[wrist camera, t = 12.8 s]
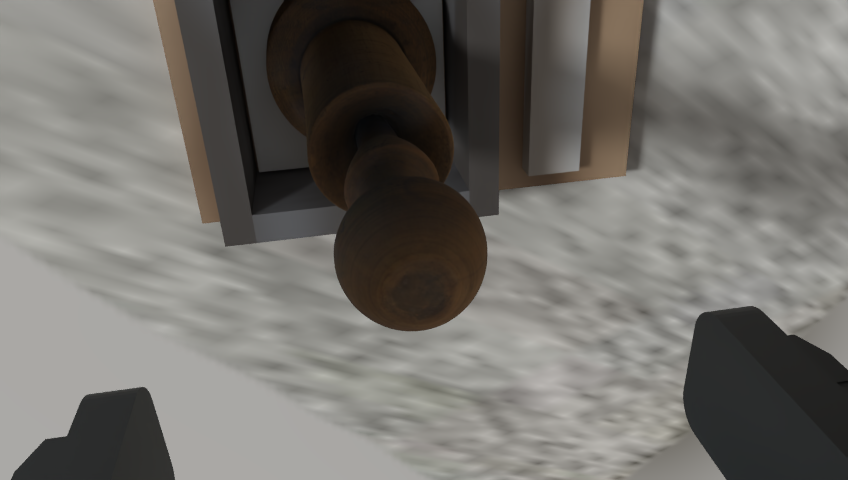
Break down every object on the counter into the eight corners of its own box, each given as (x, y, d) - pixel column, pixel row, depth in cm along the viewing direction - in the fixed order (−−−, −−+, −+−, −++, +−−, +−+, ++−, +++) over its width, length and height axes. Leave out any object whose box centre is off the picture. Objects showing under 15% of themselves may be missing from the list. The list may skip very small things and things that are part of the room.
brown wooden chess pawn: (443, 109, 30) (611, 375, 14) (298, 152, 30) (307, 469, 14) (405, -52, 27) (568, 64, 11) (242, -5, 26) (171, 181, 11)
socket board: (642, -156, 28) (722, -161, 23) (613, 164, 35) (669, 216, 30) (132, -131, 26) (92, -130, 20) (206, 208, 32) (189, 274, 27)
